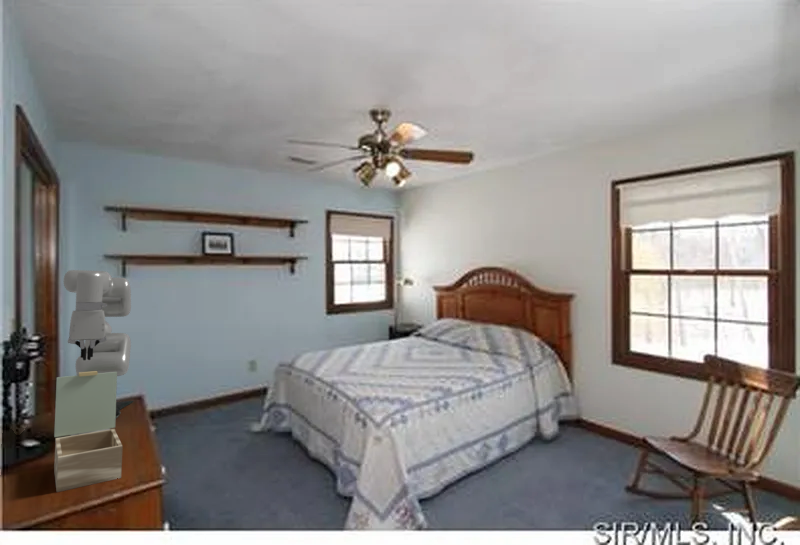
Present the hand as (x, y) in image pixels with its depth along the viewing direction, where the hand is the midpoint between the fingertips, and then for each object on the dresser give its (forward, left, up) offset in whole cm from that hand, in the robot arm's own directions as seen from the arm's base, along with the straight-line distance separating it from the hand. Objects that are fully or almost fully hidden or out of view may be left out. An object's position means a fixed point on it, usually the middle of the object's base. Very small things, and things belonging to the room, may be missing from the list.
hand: (86, 359), depth 154 cm
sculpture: (-46, +15, -34) cm, 58 cm away
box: (+18, 0, -33) cm, 38 cm away
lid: (+9, 0, -13) cm, 16 cm away
